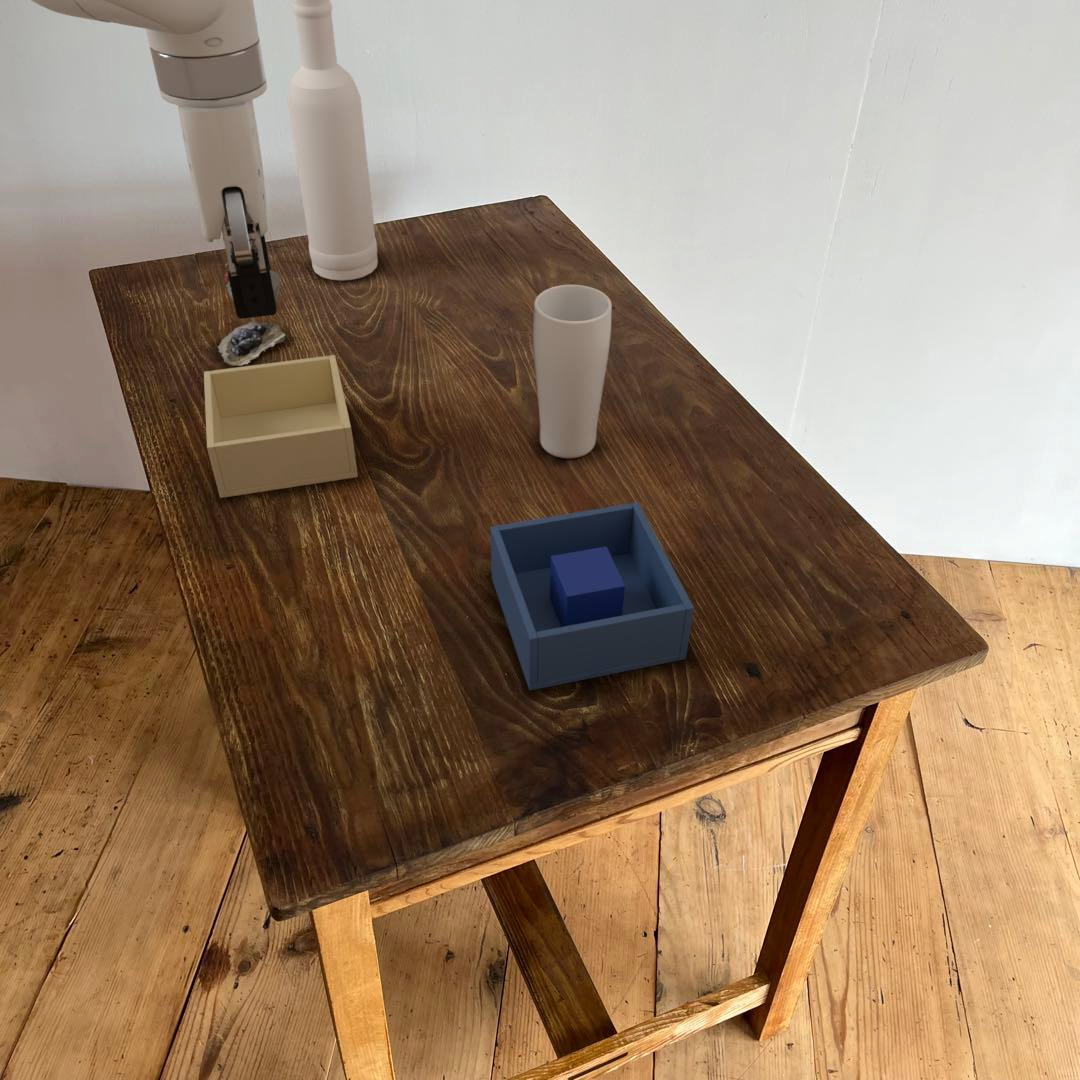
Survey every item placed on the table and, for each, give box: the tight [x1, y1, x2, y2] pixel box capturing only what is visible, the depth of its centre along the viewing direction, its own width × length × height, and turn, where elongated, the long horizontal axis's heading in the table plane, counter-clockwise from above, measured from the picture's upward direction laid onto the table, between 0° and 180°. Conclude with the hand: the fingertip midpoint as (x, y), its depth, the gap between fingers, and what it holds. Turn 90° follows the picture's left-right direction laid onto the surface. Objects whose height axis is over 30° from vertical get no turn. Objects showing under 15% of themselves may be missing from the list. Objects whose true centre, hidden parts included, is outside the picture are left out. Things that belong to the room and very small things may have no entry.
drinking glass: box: [532, 284, 613, 460], centre depth 91 cm, size 7×7×15 cm
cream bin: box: [203, 354, 359, 499], centre depth 93 cm, size 12×12×6 cm
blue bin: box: [489, 501, 695, 691], centre depth 78 cm, size 12×12×6 cm
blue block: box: [550, 547, 625, 627], centre depth 78 cm, size 4×4×4 cm
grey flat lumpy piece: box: [217, 320, 287, 367], centre depth 108 cm, size 7×8×2 cm
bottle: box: [287, 0, 379, 282], centre depth 112 cm, size 8×8×30 cm
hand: (254, 295), depth 85 cm, fingers closed on figurine, 5 cm apart
